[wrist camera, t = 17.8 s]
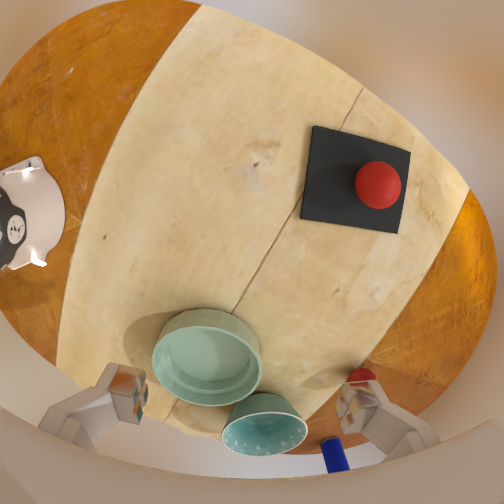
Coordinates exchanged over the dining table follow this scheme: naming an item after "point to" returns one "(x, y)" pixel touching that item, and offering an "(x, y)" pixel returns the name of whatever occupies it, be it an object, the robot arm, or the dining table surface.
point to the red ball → (377, 185)
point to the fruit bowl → (207, 358)
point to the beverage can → (334, 455)
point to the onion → (361, 375)
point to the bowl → (263, 426)
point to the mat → (349, 180)
